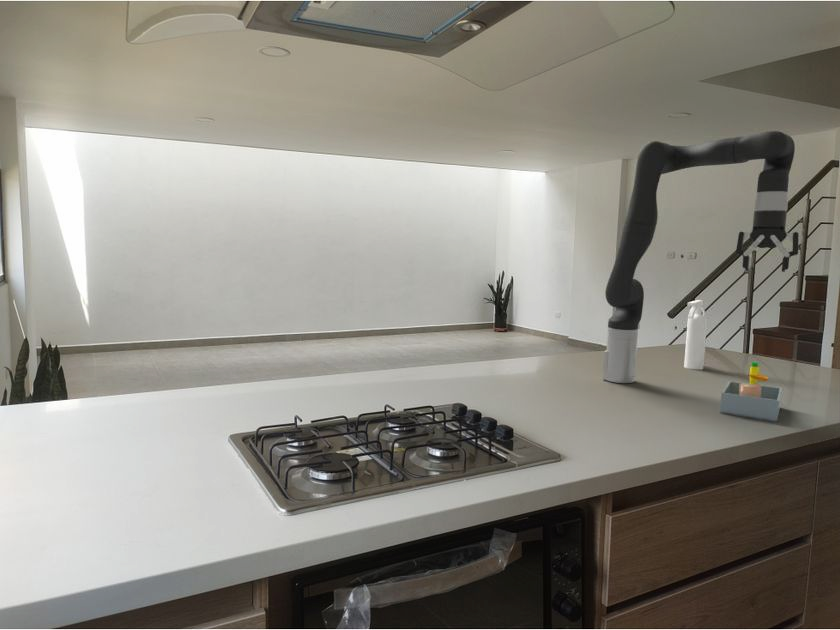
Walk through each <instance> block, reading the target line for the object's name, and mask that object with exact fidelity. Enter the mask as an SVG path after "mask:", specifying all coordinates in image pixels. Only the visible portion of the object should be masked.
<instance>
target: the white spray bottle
mask: <svg viewBox="0 0 840 630" xmlns="http://www.w3.org/2000/svg"><path fill="white" fill-rule="evenodd" d="M703 305H704V301H703V300H702V299H696V300H692V301H688V302H687V305H686V306H689V307H691V308H690V309H689V312H688V315H687V327H686V337H685V351H684V363H683V364H684V365H683V367H684V368H685V369H689V370H703V369H704V364H705V354H706V353H705V351H706V340H707V339H706V338H707V337H706V336H707V326H708V318H707V316H706V310H705V309H704V308H703V307H702V306H703Z"/></svg>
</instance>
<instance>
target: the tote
mask: <svg viewBox="0 0 840 630" xmlns="http://www.w3.org/2000/svg"><path fill="white" fill-rule="evenodd" d="M742 383H743V382H738V381H730V380H729V381H728V382H727V384H726V386H725V387H724V388H723V390H722V391H721V396H720V407H719V413H720V414H725V415H731V416H737V417H743V418H748V419H749V418H750V419H755V420H760V421H761V420H762V421H766V422H767V421H768V422H775V423H778V420H779V419H778V418H779V414H780V409H781V400H782V392H783V391H782V390H783V388H782V387H776V386H768V385H761V384H759V385H760V386H761V398H758V397H751V396H744V395H739V387H740V384H742Z"/></svg>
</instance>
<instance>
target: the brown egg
mask: <svg viewBox="0 0 840 630" xmlns="http://www.w3.org/2000/svg"><path fill="white" fill-rule="evenodd" d="M741 383H742V384H740V387H739V395H744V396H751V397H758V398H761V386H760V385H761V384H751V383H750V382H749V383H748V382H747V383H746V382H741Z"/></svg>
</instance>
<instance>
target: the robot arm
mask: <svg viewBox="0 0 840 630" xmlns="http://www.w3.org/2000/svg"><path fill="white" fill-rule="evenodd" d="M795 148H796V144H795V141H794V139H793V138H792V136H790V135H788V134H787V133H784V132H782V131H778V130H771V131H770V130H768V131H763V132H759V133H755V134H751V135H747V136H738V137H737V136H736V137H735V136H734V137H727V138H721V139H720V138H719V139H715V140H710V141H707V142H704V143H700V144H694V145H671V144H668V143H665V142H663V141H659V140H652V141H649V142H646V144H644V145H643V146H642V147H641V149H640V151H639V153H638V156H637V161H636V166H635V167H636V168H635V175H634V180H633V187H632V193H631V195H630V196H631V197H630V198H629V199H630V200H629V205H628V209H627V213H626V217H625V220H624V224H623V227H622V231H621V232H622V233H621V236H620V238H621V239H620V241H619V245H618V249H617V253H616V257H615V261H614V264H613V267H612V270H611V273H610V275H609V279H608V280H607V285H606V287H605V300H606V301H607V303H608V305H609V306H611V307H612V308H615V312H614V313H613V315H612V316H611V317H610V318H608V321H607V337H606V339H607V340H606V350H604V355H603V370H602V372H603V373H602V380H604V381H608V382H611V383H617V384H631V383H632V384H633V383H634V382H635V378H636V377H635V376H636V365H637V364H636V363H637V347H638V333H639V325H640V322H641V320H642V316H643V308H644V307H643V306H644V301H645V297H644V296H645V294H644V287H643V285H642V283H641V282H640V281H639V280H638V279H637V278H635V277H634V276H635V272H636V268H637V266H638V264H639V262H640V261H641V260H642V258H643V257H644V255H645V253H646V252H647V250H648V248H649V247H650V246H651V244H652V241H653V239H654V235H655V231H656V228H657V225H658V224H657V223H658V215H659V212H658V203H657V202H658V201H657V191H658V187H659V182H660V179H661V176H662V175H665V174H669V173H672V172H676V171H680V170H685V169H689V168H696V167H705V166H706V167H707V166H721V165H723V166H724V165H735V164H743V163H747V162H749V161H754V160H764V163H763V169H762V171H760V173H759V174H758V179H757V184H756V185H757V188H756V197H755V200H754V208H753V218H752V220H753V221H752V229H751V231H750V232H743V231H740V232H738V237H737V238H738V239H737V243H736V244H737V245H736V251H735V252H736V254H738V255H741V256H742V268H743V269H744V270H745V271H749V269H750V268H749V267H750V255H751V254H752V253H753V252H754V250H755V249H757V248H759V249H765V248H766V249H767V248H768V249H775V248H777V249H778V250H779V251H780V252H781V254H782V255H783V257H782V264H781V273H784V272H786V270H788V269H789V268H790V267H789V265H790V258H791V257H793V256H797V255H799V240H800V239H799V238H800V237H799V236H800V235H799V232H797V231H795V232H786V225H787V215H788V214H787V213H788V207H789V205H788V203H789V201H788V200H789V197H788V192H789V191H788V190H789V179H790V178H789V177H790V176H789V175H790V171H791V168H792V165H793V162H794V157H795V153H796V152H795ZM748 237H750V238H751V240H752V241H753V242H752V243H751V244H750V245H749V246H748V247H747V249H746V250H744V249H743V247H744V242H745V241H746V240H747V239H748ZM787 238H788V239H789V240H790V241H791V242H792V250H791V251H788V249H786V247H785V246H784V244H783V243H782V242H783V241H784V240H785V239H787Z"/></svg>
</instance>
